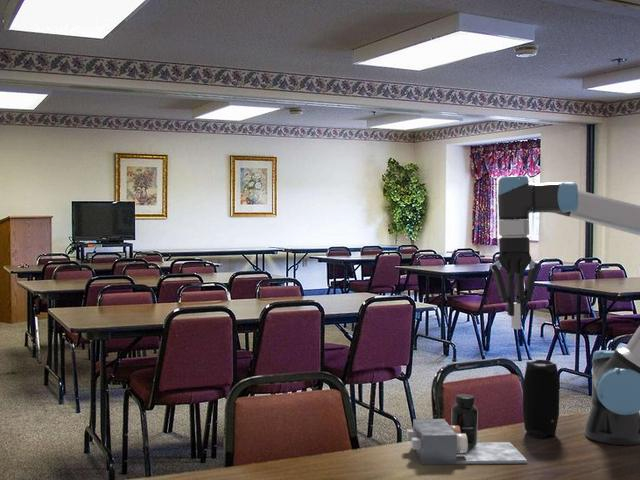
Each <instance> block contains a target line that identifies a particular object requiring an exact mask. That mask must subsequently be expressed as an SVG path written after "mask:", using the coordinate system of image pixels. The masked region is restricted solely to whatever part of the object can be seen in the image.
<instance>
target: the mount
mask: <svg viewBox="0 0 640 480" xmlns="http://www.w3.org/2000/svg"><path fill="white" fill-rule="evenodd" d="M449 425H450V424H449V423H448V422H447V421H446V419H445V418H414V419H412V427H413V428H412V429H416V430H417V438H421V439H422V449H414V451H415V453H416V455H417V456H418V459H419V460H420V462H421V465H424V466H426V465H429V466H430V465H432V466H433V465H434V466H435V465H501V464H502V465H504V464H505V465H506V464H507V465H508V464H509V465H510V464H511V465H513V464H528V459H527V458H526V457H525V456H524V455H523V454H522V453H521V452H520V451H519V450H518V448H516V446H514V445H513V444H512V443H511V442H509V441H508V442H507V441H504V442H501V441H499V442H498V441H496V442H495V441H494V442H493V441H491V442H490V441H487V442H476V443H468V450H467V452H457V435H456V433H455V432H454V431H453V430H452V428H451V427H450V426H449Z"/></svg>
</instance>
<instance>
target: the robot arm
mask: <svg viewBox="0 0 640 480" xmlns="http://www.w3.org/2000/svg"><path fill="white" fill-rule="evenodd" d="M497 187H498V188H497V189H498V190H497V193H498V194H497V204H498V205H497V206H498V235H499V236H500V237H499V240H498V241H499V242H498V245H499V256H498V257H497V261H496V262H494V263H490V264H489V269H490V270H491V272H492V274H493V277H494V280H495V285H496V288H497V292H498V296H499V299H500V301H503V302H505V303H506V304H507V315H508V316H509V317H510V318H511V319H510V320H511V328H512V329H514V330H521V329H522V328H521V327H522V325H521V322H522V321H521V316H524V315H525V303H526V302H527V301H531V299H532V296H533V291H534V288H535V287H534V285H535V282H536V277H537V273H538V271H539V270H540V268H541V263H539V262H536V261H534V260H533V257H532V256H531V254H530V253H531V252H530V238H529V237H528V236H529V235H530V220H529V219H530V213H531V214H535V213H552V214H557V215H561V216H564V217H569V218H573V219H576V220H579V221H584V222H587V223H590V224H595V225H599V226H601V227H607V228H610V229H613V230H618V231H622V232H626V233H629V234H631V235H636V236H639V237H640V205H639V204H635V203H630V202H627V201H624V200H620V199H615V198H613V197H612V198H611V197H608V196H603V195H599V194H596V193H591V192H589V191H584V190H579V187H578V184H577V183H576V181H575V182H573V181H558V182H538V183H535V182H530V181H529V177H528V176H526V175H509V176H502V177H500V178H499V180H498V185H497ZM501 268H502V269H503V270H504V272H505V277H506V278H505V279H506V286H505V283H504V280H503V275H502V273H501V272H502V271H501ZM527 268H528V273H527V277H526V283H525V272H526V269H527ZM515 291H516V292H515ZM515 294H516V297H515ZM515 298H516V302H515ZM591 363H592V373H591V374H592V377H591V379H592V386H591V387H592V388H591V392H592V393H591V408H590V410H589V413H588V415H587V418H586V421H585V424H584V436H585V437H587V438H588V439H589V440H593V441H595V442H598V443H605V444H609V445H617V446H634V445H635V446H636V445H640V325H639V326H638V328H637V329H636V330H635V332H634V333H633V335H632V336H631V338H630V340H629V341H628V342H627V344H626V345H625V346H623V347H619V348H616V349H615V350H606V349H605V350H604V349H602V350H601V349H600V350H595V351H594V352H593V354H592V359H591Z"/></svg>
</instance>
